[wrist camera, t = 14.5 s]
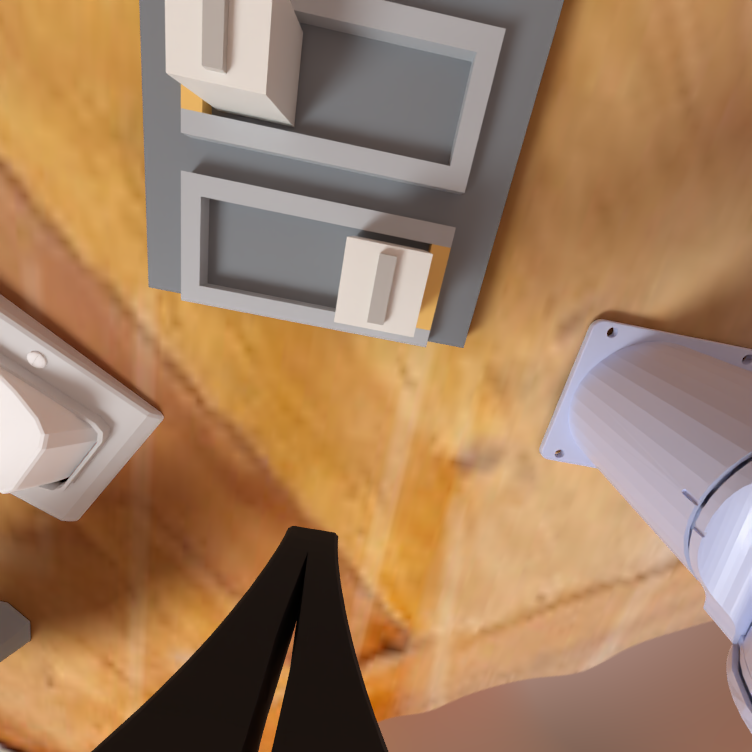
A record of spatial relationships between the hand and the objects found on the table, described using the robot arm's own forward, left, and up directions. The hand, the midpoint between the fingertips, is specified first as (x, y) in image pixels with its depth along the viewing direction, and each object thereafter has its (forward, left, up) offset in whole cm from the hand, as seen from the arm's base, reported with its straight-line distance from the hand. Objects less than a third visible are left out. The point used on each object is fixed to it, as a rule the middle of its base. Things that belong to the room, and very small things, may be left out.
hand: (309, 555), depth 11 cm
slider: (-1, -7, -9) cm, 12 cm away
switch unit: (+2, -14, -10) cm, 17 cm away
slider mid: (+5, -13, -9) cm, 17 cm away
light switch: (+18, +4, -11) cm, 22 cm away
